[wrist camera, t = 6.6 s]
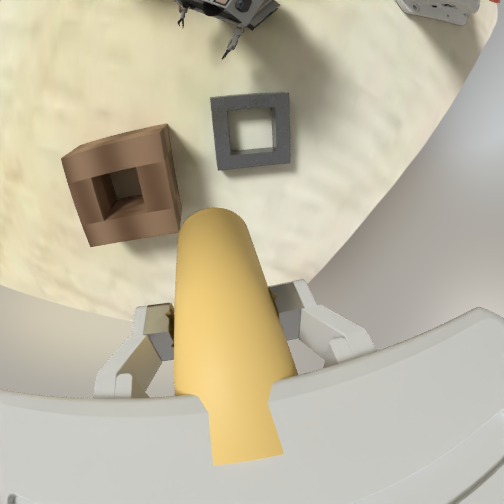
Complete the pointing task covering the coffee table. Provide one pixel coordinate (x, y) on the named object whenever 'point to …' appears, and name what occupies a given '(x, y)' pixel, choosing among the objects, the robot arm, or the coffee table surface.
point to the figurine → (231, 13)
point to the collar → (251, 156)
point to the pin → (228, 335)
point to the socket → (132, 208)
